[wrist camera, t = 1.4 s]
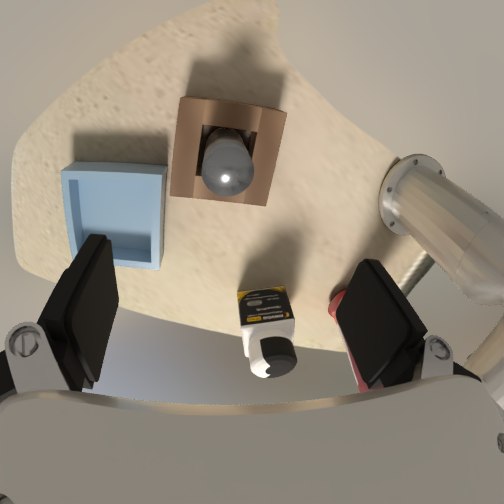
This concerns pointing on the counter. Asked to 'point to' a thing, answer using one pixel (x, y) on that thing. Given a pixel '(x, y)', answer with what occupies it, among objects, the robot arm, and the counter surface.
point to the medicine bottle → (267, 331)
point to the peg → (226, 163)
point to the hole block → (232, 116)
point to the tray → (117, 209)
